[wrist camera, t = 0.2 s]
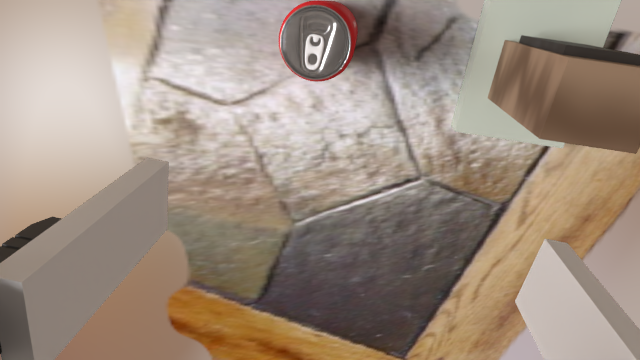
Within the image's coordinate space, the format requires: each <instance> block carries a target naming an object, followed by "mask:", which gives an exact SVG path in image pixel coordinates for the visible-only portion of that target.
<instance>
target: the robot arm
mask: <svg viewBox="0 0 640 360" xmlns="http://www.w3.org/2000/svg"><path fill="white" fill-rule="evenodd" d="M168 169H169V162H167V161H162V160H157V159H152V158H146V159H144V160H143V161H142V162H140V163H139V164H137V165H136V166H135V167H133V168H132V169H130V170H129V171H128V172H126V173H125V174H124V175H122V176H121V177H119V178H118V179H117V180H115V181H114V182H113V183H111V184H110V185H108V186H107V187H105V188H104V189H103V190H101V191H100V192H99V193H97V194H96V195H94V196H93V197H92V198H90V199H89V200H87V201H86V202H85V203H83V204H82V205H80V206H79V207H78V208H77V209H75V210H73V211H72V212H71V213H69V214H68V215H67V216H65V217H64V218H62V219H61V218H56V217H50V218H48V219H45V220H42V221H39V222H37V223H34V224H32V225H30V226H28V227H27V228H25V229H24V230H22V231H21V232H20V233H18V234H17V235H16V236H15V238H14V237H12V238H11V239H9V240H8V241H6V242H5V243H3V244H2V246H1V247H0V354H1V357H2V360H54V359H55V358H56V357H57V356H58V355H59V354H60V352H61V351H62V350H63V349H64V348H65V347H66V345H67V344H68V343H69V342H70V341H71V340H72V338H73V337H74V336H75V335H76V334H77V333H78V332H79V330H80V329H81V328H82V327H83V326H84V325H85V323H86V322H87V321H88V320H89V319H90V318H91V317H92V315H93V314H94V313H95V312H96V311H97V310H98V309H99V307H100V306H101V305H102V304H103V303H104V302H105V300H106V299H107V298H108V297H109V296H110V295H111V294H112V292H113V291H114V290H115V289H116V288H117V287H118V285H119V284H120V283H121V282H122V281H123V280H124V279H125V277H126V276H127V275H128V274H129V273H130V271H131V270H132V269H133V268H134V267H135V266H136V265H137V264H138V262H139V261H140V260H141V259H142V258H143V257H144V255H145V254H146V253H147V252H148V251H149V250H150V249H151V247H152V246H153V245H154V244H155V243H156V242H157V240H158V239H159V238H160V237H161V236H162V235H163V234H164V232H165V231H166V230H167V212H168ZM515 303H516V305H517V307H518V309H519V311H520V313H521V315H522V317H523V319H524V321H525V323H526V325H527V327H528V329H529V331H530V333H531V334H532V337H533V338H534V341H535V343H536V345H537V347H538V349H539V351H540V353H541V355H542V357H543V359H544V360H640V330H639V328H638V327H637V326H636V325H635V324H634V322H633V321H632V320H631V319H630V318H629V316H628V315H627V314H626V313H625V312H624V310H623V309H622V308H621V307H620V306H619V304H618V303H617V302H616V301H615V300H614V299H613V297H612V296H611V295H610V294H609V293H608V291H607V290H606V289H605V288H604V286H603V285H602V284H601V283H600V282H599V280H598V279H597V278H596V277H595V276H594V274H592V272H591V271H590V270H589V268H588V267H587V266H586V265H585V264H584V262H583V261H582V260H581V259H580V258H579V256H578V255H577V254H576V253H575V252H574V250H573V249H572V248H571V247H570V246H569V244H568V243H564V242H559V241H554V240H549V239H545V240H544V242H543V244H542V246H541V248H540V250H539V252H538V254H537V256H536V258H535V261H534V263H533V265H532V267H531V269H530V271H529V273H528V275H527V277H526V279H525V282H524V284H523V286H522V288H521V290H520V292H519V294H518V296H517V298H516V300H515Z"/></svg>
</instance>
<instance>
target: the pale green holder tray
mask: <svg viewBox="0 0 640 360" xmlns="http://www.w3.org/2000/svg"><path fill="white" fill-rule="evenodd" d="M621 1H622V0H485V1H484V5H483V9H482V12H481V16H480V20H479V23H478V27H477V31H476V34H475V38H474V42H473V46H472V49H471V53H470V57H469V60H468V64H467V68H466V71H465V75H464V79H463V82H462V86H461V90H460V94H459V97H458V101H457V105H456V108H455V112H454V116H453V119H452V123H451V127H452V128H453V130H454V131H455V132H460V133H466V134H473V135H479V136H486V137H492V138H499V139H505V140H512V141H518V142H525V143H531V144H538V145H545V146H551V147H558V148H563V147H564V144H565V143H563V142H556V141H550V140H543V139H539V138H538V137H536V136H535V135H534V134H533V133H531V132H530V131H529V130H527V129H526V128H525V127H524V126H522V125H521V124H520V123H519V122H517V121H516V120H515V119H513V118H512V117H511V116H510V115H508V114H507V113H506V112H505V111H503V110H502V109H501V108H499V107H498V106H497V105H496V104H494V103H493V102H492V101H491V100H489V99H488V94H489V91H490V88H491V84H492V81H493V78H494V74H495V71H496V68H497V64H498V61H499V58H500V54H501V51H502V48H503V44H504V41H505V40H509V41H516V42H519V41H520V38H521V35H524V36H531V37H538V38H545V39H552V40H559V41H566V42H573V43H580V44H586V45H591V46H596V47H602V48H603V46H604V43H605V41H606V38H607V36H608V33H609V31H610V28H611V26H612V23H613V21H614V18H615V16H616V13H617V10H618V8H619V6H620V3H621Z"/></svg>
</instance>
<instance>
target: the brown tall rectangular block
mask: <svg viewBox="0 0 640 360" xmlns="http://www.w3.org/2000/svg"><path fill="white" fill-rule="evenodd" d="M488 99H489V100H491V101H492V102H493V103H494V104H496V105H497V106H498V107H499V108H501V109H502V110H503V111H505V112H506V113H507V114H508V115H510V116H511V117H512V118H513V119H515V120H516V121H517V122H519V123H520V124H521V125H522V126H524V127H525V128H526V129H527V130H529V131H530V132H531V133H533V134H534V135H535V136H536V137H538V138H539V139H543V140H550V141H556V142H563V143H569V144H576V145H583V146H589V147H596V148H602V149H609V150H615V151H622V152H628V153H635V154H636V153H637V151H638V149H639V147H640V55H638V54H633V53H628V52H622V51H617V50H612V49H607V48H602V47H596V46H591V45H586V44H580V43H573V42H566V41H559V40H552V39H545V38H538V37H531V36H524V35H521V38H520V41H519V42H516V41H509V40H505V41H504V44H503V48H502V51H501V54H500V58H499V61H498V64H497V68H496V71H495V74H494V78H493V81H492V84H491V88H490V91H489V94H488Z"/></svg>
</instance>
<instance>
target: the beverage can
mask: <svg viewBox="0 0 640 360" xmlns="http://www.w3.org/2000/svg"><path fill="white" fill-rule="evenodd" d="M357 34H358V29H357V23H356V20H355V18H354V16H353V14H352V13H351V11H350V10H349V9H348V8H347V7H345V6H344V5H343V4H341V3H338V2H335V1H309V2H305V3H303V4H300V5H298V6H297V7H295V8H294V9H293V10H292V11H291V12H290V13H289V14H288V15H287V16H286V18H285V20H284V21H283V23H282V26H281V29H280V33H279V48H280V52H281V55H282V58H283V60H284V62H285V63H286V65H287V66H288V68H289V69H290V70H291V71H292V72H294V73H295V74H296V75H298V76H299V77H301V78H303V79H306V80H310V81H325V80H329V79H331V78H334V77H336V76H337V75H339V74H340V73H342V72H343V71H344V70H345V68H346V67H347V66H348V64H349V63H350V61H351V59H352V56H353V53H354V49H355V45H356V40H357Z"/></svg>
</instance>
